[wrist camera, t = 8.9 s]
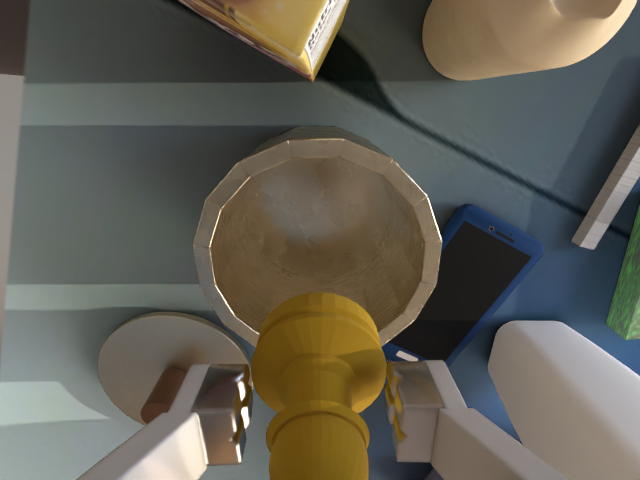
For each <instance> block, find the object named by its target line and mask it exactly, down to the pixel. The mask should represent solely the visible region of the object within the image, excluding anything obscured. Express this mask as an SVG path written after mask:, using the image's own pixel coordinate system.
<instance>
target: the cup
mask: <svg viewBox="0 0 640 480" xmlns="http://www.w3.org/2000/svg"><path fill="white" fill-rule="evenodd" d="M488 371H489V374H490V376H491V378H492V381H493V383H494V385H495V388H496V390H497V393H498V395H499V397H500V399H501V401H502V403H503V406H504V408H505V410H506V412H507V414H508V416H509V418H510V420H511V422H512V425H513V427H514V429H515V431H516V432H517V434H518V436H519V438H520V440H521V442H522V444H523V446H525V447H526V448H527V449H529V450H530V451H531V452H533V453H534V454H535V455H537V456H538V457H539V458H541V459H542V460H543V461H545V462H546V463H547V464H549V465H550V466H551V467H553V468H554V469H555V470H557V471H558V472H559V473H561V474H562V475H563V476H565V477H566V478H567V479H569V480H640V376H638V375H637V374H636V373H635V372H633V371H632V370H631V369H629V368H628V367H627V366H625V365H624V364H622V363H621V362H620V361H618V360H617V359H615V358H614V357H612V356H611V355H610V354H608V353H607V352H605V351H604V350H602V349H601V348H600V347H598V346H597V345H595V344H594V343H593V342H591V341H590V340H588V339H587V338H585V337H584V336H582V335H581V334H579V333H577V332H576V331H574V330H573V329H571V328H570V327H568V326H567V325H565V324H564V323H562V322H558V321H518V320H517V321H510V322H508V323H506V324H504V325H502V326H501V327H500V328H499V329H498V331H497V333H496V335H495V339H494V343H493V347H492V351H491V354H490V358H489V362H488Z"/></svg>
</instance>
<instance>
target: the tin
mask: <svg viewBox="0 0 640 480" xmlns="http://www.w3.org/2000/svg"><path fill="white" fill-rule="evenodd" d="M441 247H442V238H441V235H440V232H439V229H438V225H437V222H436V219H435V216H434V213H433V210H432V207H431V204H430V200H429V197H428V196H427V194H426V193H425V192H424V191H423V190H422V189H421V188H420V187H419V186H418V184H417V183H416V182H415V181H414V180H413V179H412V178H411V177H410V176H409V175H408V174H407V173H406V172H405V171H404V169H403V168H402V167H401V166H400V165H399V164H398V163H397V162H396V161H395V160H394V159H393V158H391V157H390V156H389V155H387V154H386V153H385V152H383V151H382V150H381V149H379V148H378V147H377V146H375V145H374V144H372V143H371V142H370V141H368V140H367V139H365V138H362V137H360V136H358V135H355V134H353V133H351V132H348V131H346V130H343V129H341V128H338V127H336V126H299V127H296V128H293V129H291V130H289V131H287V132H284V133H282V134H280V135H278V136H276V137H274V138H272V139H270V140H267V141H265V142H264V143H263V144H261V145H260V146H259V147H257V148H256V149H255V150H253V151H252V152H251V153H249V154H248V155H247V156H245V157H244V158H243V159H241V160H240V161H239V162H237V163H236V165H235V166H234V167H233V168H232V169H231V170H230V171H229V173H228V174H227V175H226V176H225V177H224V178H223V180H222V181H221V182H220V183H219V184H218V185H217V186H216V188H215V189H214V190H213V191H212V192H211V193H210V195H209V196H208V197H207V198H206V200H205V202H204V206H203V209H202V213H201V216H200V220H199V224H198V227H197V231H196V234H195V238H194V242H193V250H194V256H195V262H196V268H197V274H198V280H199V285H200V288H201V291H202V292H203V294H204V295H205V297H206V298H207V300H208V301H209V303H210V304H211V306H212V307H213V309H214V311H215V312H216V314H217V315H218V317H219V318H220V320H221V321H222V323H223V324H224V325H225V326H227V327H228V328H229V329H231V330H232V331H233V332H235V333H236V334H238V335H239V336H240V337H242V338H243V339H245V340H246V341H247V342H249V343H250V344H251V345H253V346H254V347H256V345H257V341H258V337H259V333H260V330H261V328H262V325H263V322H264V321H265V319H266V318H267V316H268V315H269V313H270V312H271V311H272V310H274V309H275V308H276V307H277V306H278V305H280V304H281V303H283V302H284V301H286V300H288V299H290V298H293V297H295V296H297V295H302V294H307V293H318V292H323V293H331V294H336V295H339V296H343V297H346V298H348V299H350V300H352V301H353V302H355V303H357V304H358V305H359V306H361V307H362V308H363V309H364V310H365V311H366V312H367V313H368V314H369V315H370V317H371V318H372V320H373V322H374V324H375V326H376V328H377V332H378V336H379V340H380V344H381V346H383V345H385V344H386V343H387V342H388V341H390V340H391V339H392V338H393V337H395V336H396V335H397V334H399V333H400V332H401V331H402V330H404V329H405V328H406V327H407V326H409V325H410V324H411V323H413V322H414V320H416V318H417V316H418V315H419V313H420V311H421V310H422V308H423V306H424V305H425V303H426V301H427V300H428V298H429V296H430V295H431V293H432V291H433V289H434V288H435V286H436V284H437V278H438V270H439V262H440V255H441Z"/></svg>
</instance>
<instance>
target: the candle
mask: <svg viewBox="0 0 640 480" xmlns="http://www.w3.org/2000/svg"><path fill="white" fill-rule="evenodd" d="M636 2H637V0H432V2H431V4H430V6H429V8H428V10H427V13H426V15H425V19H424V23H423V32H422V39H423V46H424V51H425V54H426V56H427V58H428V60H429V62H430V63H431V65H432V66H433V67H434V68H435V70H437V71H438V72H439V73H440V74H442V75H444V76H445V77H448V78H451V79H454V80H461V81H465V80H476V79H483V78H490V77H497V76H504V75H511V74H518V73H525V72H532V71H539V70H546V69H553V68H559V67H564V66H568V65H570V64H573V63H576V62H578V61H580V60H582V59H584V58H586V57H588V56H589V55H591V54H593V53H594V52H596V51H597V50H598V49H599V48H601V47H602V46H603V45H605V44H606V43H607V42H608V41H609V40H610V39H611V38H612V37H613V36H614V35H615V33H616V32H617V31H618V30H619V29H620V28H621V26H622V25H623V24H624V22H625V21H626V19H627V18H628V16H629V15H630V13H631V11H632V10H633V8H634V6H635V4H636Z"/></svg>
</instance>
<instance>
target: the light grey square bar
mask: <svg viewBox="0 0 640 480" xmlns="http://www.w3.org/2000/svg"><path fill="white" fill-rule="evenodd" d="M639 176H640V124H639V126H638V127H637V129H636V131H635V133H634V134H633V136H632V138H631V139H630V141H629V143H628V144H627V146H626V148H625V150H624V151H623V153H622V155H621V156H620V158H619V160H618V162H617V163H616V165H615V167H614V168H613V170H612V172H611V174H610V175H609V177H608V179H607V180H606V182H605V184H604V186H603V187H602V189H601V191H600V192H599V194H598V196H597V197H596V199H595V201H594V203H593V204H592V206H591V208H590V209H589V211H588V213H587V215H586V216H585V218H584V220H583V221H582V223H581V225H580V227H579V228H578V230H577V232H576V233H575V235H574V237H573V239H572V240H571V242H573V243H575V244H576V245H578V246H580V247H584V248H588V249H592V250H594V249H595V247H596V246H597V244H598V242H599V241H600V239H601V237H602V236H603V234H604V233H605V231H606V229H607V228H608V226H609V225H610V223H611V221H612V220H613V218H614V216H615V215H616V213H617V212H618V210H619V208H620V207H621V205H622V204H623V202H624V200H625V199H626V197H627V196H628V194H629V192H630V191H631V189H632V187H633V186H634V184H635V183H636V181H637V179H638V178H639Z"/></svg>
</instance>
